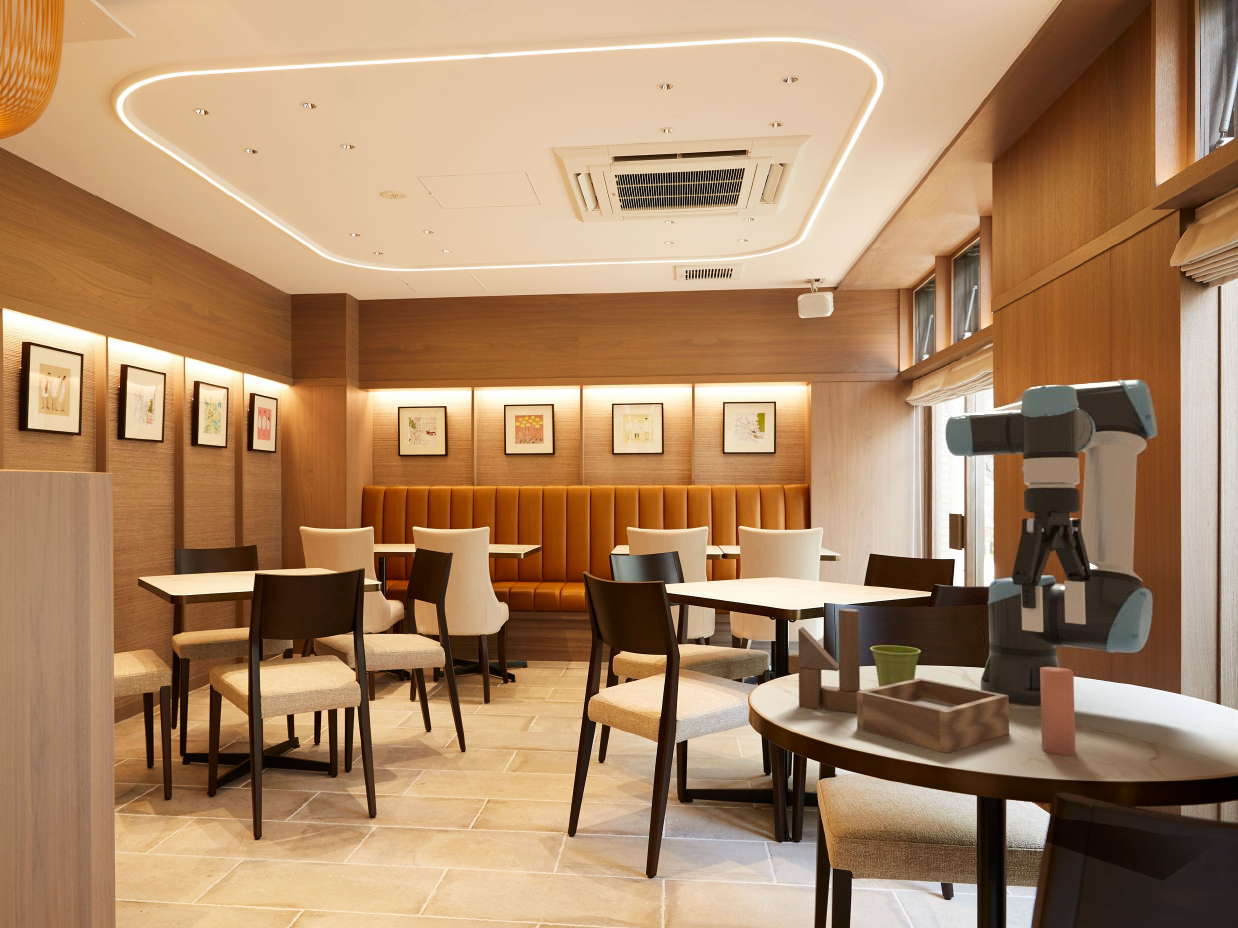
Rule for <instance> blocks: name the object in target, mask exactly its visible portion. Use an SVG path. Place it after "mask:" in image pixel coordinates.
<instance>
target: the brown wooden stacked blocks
mask: <svg viewBox="0 0 1238 928" xmlns="http://www.w3.org/2000/svg"><path fill="white" fill-rule="evenodd" d="M797 633H798V706H799V707H800V708H801V707H806V708H805V709H810V708H816V709H815V710H818V708H819V709H820V707H821V708H823V707H824V708H823V709H825V708H826V710H829V711H832V710H834V711H835V712H842V711H843V712H842V713H852V714H853V713H854V714H857V692H858V691H862V690H863V689H861V681H860V680H861V677H860V676H861V675H860V674H861V673H860V672H861V671H860V670H861V669H860V668H861V667H860V660H861V659H860V657H861V656H860V611H859V610H858V609H855V608H840V609H838V662H837V661H836V660H835V659H834V658H833V657H832V656H831V655H830V654H829V653H828V651H827V650H825V648H824V647H822V645H821V644H820V643H819V642H818V640H817V639H815V638H814V637H813V635H811V633H810V632H808V631H807V629H806V628H805V627H804V626H801V627H800V628H799V629H798V631H797ZM823 670H824V671H834V672H837V671H838V677H839V679H838V682H839V683H838V684H839V685H838V687H837V686H828V685H822V671H823Z"/></svg>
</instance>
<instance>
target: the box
mask: <svg viewBox="0 0 1238 928" xmlns="http://www.w3.org/2000/svg"><path fill="white" fill-rule="evenodd" d="M861 690H862V691H858V692H857V713H856V728H857V730H860V731H864V732H867V733H871V734H876V735H879V736H883V737H886V738H890V739H893V740H896V741H897V740H898V741H901V742H905V743H908V744H911V745H916V746H920V747H923V748H926V749H930V750H933V751H938V752H942V753H946V754H950V753H952V752H956V751H959V750H962V749H965V748H966V749H967V748H968V747H972V746H975V745H977V744H981V743H984V742H986V741H990V740H992V739H996V738H999V737H1001V736H1005V735H1007V734H1010V710H1009V709H1010V707H1009V705H1010V704H1009V703H1010V702H1009V697H1008V695H1003V694H998V693H993V692H988V691H982V690H981V689H977V688H971V687H966V686H962V685H956V684H951V683H946V682H941V681H935V680H930V679H926V678H921V677H918V678H915V679H913V680H909V681H904V682H899V683H895V684H890V685H885V686H881V687H879V686H877V687H873V688H867V689H861Z"/></svg>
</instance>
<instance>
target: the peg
mask: <svg viewBox="0 0 1238 928" xmlns="http://www.w3.org/2000/svg"><path fill="white" fill-rule="evenodd" d="M1074 681H1075V679H1074V671H1073V669H1070V668H1065V667H1060V668H1058V667H1041V668H1040V684H1041V705H1040V713H1041V715H1040V719H1041V722H1040V723H1041V750H1042V751H1043V752H1046V753H1048V754H1053V755H1060V756H1074V755H1075V754H1076V752H1077V751H1076V724H1075V723H1076V721H1075V718H1076V717H1075V687H1074V686H1075V685H1074V684H1075V682H1074Z"/></svg>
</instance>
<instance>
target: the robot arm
mask: <svg viewBox="0 0 1238 928" xmlns="http://www.w3.org/2000/svg"><path fill="white" fill-rule="evenodd" d="M1156 420H1157V419H1156V413H1155V408H1154V404H1153V399H1152V395H1151V391H1150V387H1149V386H1148V385H1147V383H1146V382H1145V381H1143V380H1142V379H1127V380H1125V379H1124V380H1122V379H1118V380H1115V381H1113V380H1112V381H1103V382H1092V383H1080V384H1079V383H1078V384H1069V385H1068V384H1066V385H1065V384H1051V385H1041V386H1032V387H1030V388H1027V389H1025V390H1024V391H1023V392H1022V395H1021V396H1020V397H1018V398H1016V399H1014V401H1012V402H1011V403H1010V404H1008V405H1004V406H1003V405H1002V406H1001V407H996V408H992V409H989V410H984V411H980V412H970V413H969V412H965V413H958V414H953V415H951V416H950V417H949V418H948V419H947V422H946V426H945V441H946V447H947V449H948V451H949V453H951V454H952V456H956V457H970V458H971V457H975V456H976V457H977V456H993V455H994V456H995V455H998V456H999V455H1023V466H1022V467H1021V471H1022V472H1023V484H1024V485H1025V486H1027V487H1028V488H1025V490H1023V508H1024V511H1025V512H1026V513H1033V514H1034V515H1033V518H1022V520H1021V534H1020V539H1019V543H1018V547H1017V553H1016V556H1015V560H1014V566H1013V570H1012V575H1011V577H1005V578H1004V577H1003V578H997V579H994V580H993V581H991V583H990V584H989V587H988V601H987V607H988V631H989V635H988V636H989V637H988V638H989V640H988V641H989V654H988V655H989V656H988V658H987V661H986V664H985V667H984V670H983V672H982V674H981V675H982V676H981V679H980V690H982V691H988V692H993V693H998V694H1003V695H1008V697H1009V703H1010V704H1011V703H1012V704H1016V705H1017V704H1018V705H1020V704H1021V705H1026V706H1027V705H1028V706H1041V684H1040V668H1041V667H1058V668H1061V667H1060V664H1059V660H1058V657H1057V655H1058V651H1057V649H1058V647H1057V646H1060V647H1067V648H1068V647H1069V648H1077V649H1087V650H1095V651H1104V652H1105V651H1106V652H1108V653H1112V654H1113V653H1128V654H1130V653H1131V654H1132V653H1133V654H1134V653H1137V652H1139V651H1141V650H1142V649H1143V648H1144V647H1145V645H1146V643H1147V641H1148V638H1149V634H1150V630H1151V625H1152V620H1153V619H1152V618H1153V604H1154V601H1153V600H1154V599H1153V595H1152V591H1151V590H1150V589H1147V588H1146V587H1143V579H1142V578H1141V577H1140V576H1139V575H1138V574H1136V572H1134V553H1135V551H1134V549H1135V521H1136V520H1135V518H1136V496H1137V495H1136V494H1137V493H1136V490H1137V464H1138V463H1137V462H1138V461H1137V460H1138V457H1137V456H1138V455H1139V454H1140V453H1142V452H1144V451H1145V449H1147V444H1148V442H1147V441H1148V439H1150V440H1151V439H1153V438H1155V437H1157V435H1158V426H1157V421H1156ZM1079 452H1083V453H1084V454H1085V458H1084V473H1083V474H1084V476H1083V490H1082V491H1083V494H1082V513H1081V519H1080V518H1072V517H1071V516H1070V514H1074V513H1079V512H1080V511H1081V497H1080V496H1081V495H1080V494H1081V491H1080V490H1079V488H1076V485H1079V484H1080V483H1081V480H1080V479H1081V478H1080V458H1079ZM1070 517H1071V518H1070ZM1054 551H1055V553H1056V556H1057V558H1058V560H1059V563H1060V564H1061V565H1060V566H1061V567H1062V569H1063V571H1064V574H1065V576H1066V578H1067V580H1064V581H1063V583H1057V579H1056V578H1055V576H1054V575H1050V574H1049V575H1046V574H1045V575H1043V574H1044V571H1045V568H1046V564H1047V563H1048V560H1049V557H1050V554H1051V552H1054Z"/></svg>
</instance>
